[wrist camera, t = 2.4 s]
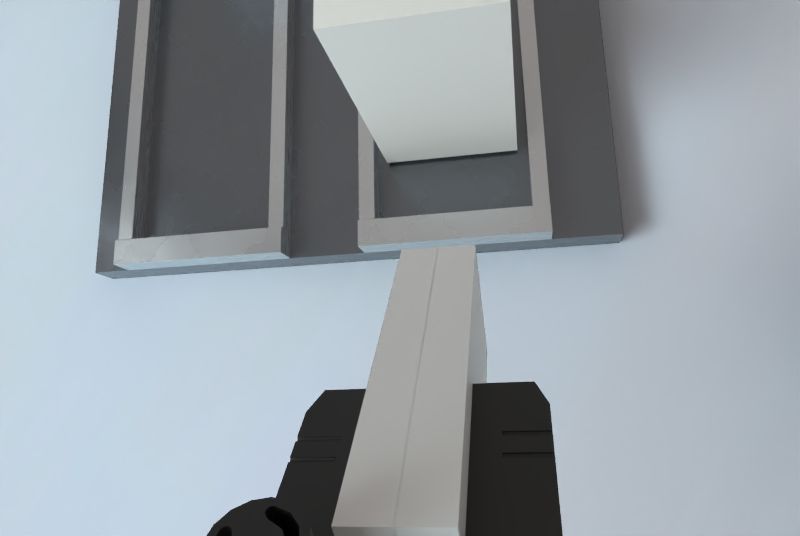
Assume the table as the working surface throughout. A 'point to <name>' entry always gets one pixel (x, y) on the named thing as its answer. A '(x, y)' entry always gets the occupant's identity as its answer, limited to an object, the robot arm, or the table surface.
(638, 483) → the table surface
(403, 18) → the white fader
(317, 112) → the grey board
